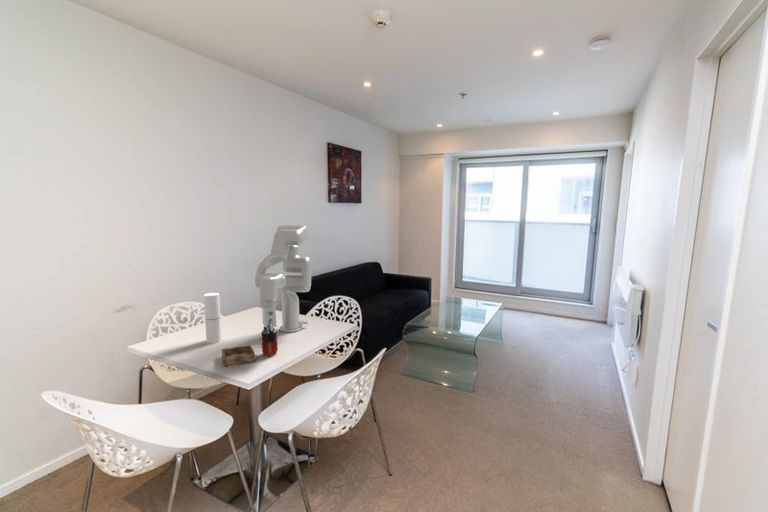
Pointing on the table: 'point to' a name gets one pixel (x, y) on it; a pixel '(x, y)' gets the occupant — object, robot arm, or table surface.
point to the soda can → (269, 344)
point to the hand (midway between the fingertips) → (269, 337)
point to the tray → (238, 355)
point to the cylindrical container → (212, 317)
